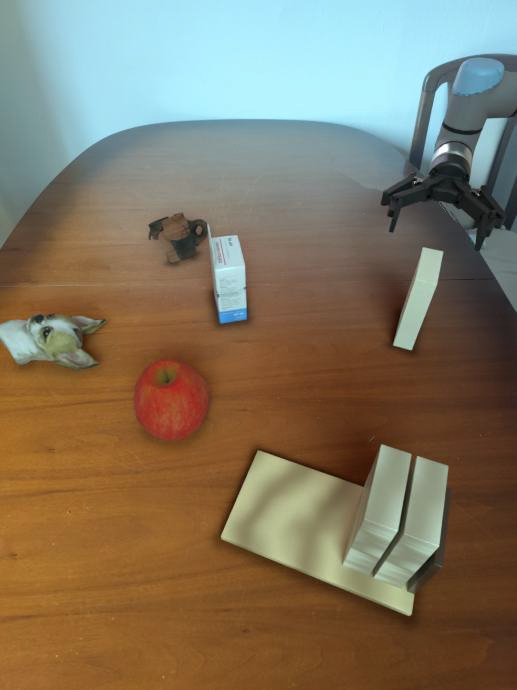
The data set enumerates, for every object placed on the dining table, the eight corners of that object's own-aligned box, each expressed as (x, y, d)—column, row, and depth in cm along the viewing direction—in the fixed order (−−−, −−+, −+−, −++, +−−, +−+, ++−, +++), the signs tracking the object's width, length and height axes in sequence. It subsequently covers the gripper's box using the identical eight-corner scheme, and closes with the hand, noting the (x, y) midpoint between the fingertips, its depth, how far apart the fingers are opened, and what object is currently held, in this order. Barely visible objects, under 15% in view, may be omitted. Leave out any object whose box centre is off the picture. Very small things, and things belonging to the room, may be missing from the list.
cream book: (418, 317, 78) (443, 251, 67) (411, 350, 73) (437, 284, 62) (400, 313, 79) (422, 246, 68) (392, 345, 74) (414, 279, 63)
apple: (215, 389, 68) (209, 342, 60) (207, 451, 61) (199, 407, 53) (147, 387, 68) (132, 340, 60) (132, 448, 61) (113, 405, 53)
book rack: (424, 512, 55) (466, 453, 44) (409, 616, 48) (455, 577, 37) (257, 453, 61) (257, 387, 49) (221, 539, 53) (210, 484, 42)
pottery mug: (156, 269, 87) (139, 228, 84) (164, 259, 96) (149, 221, 93) (215, 250, 86) (199, 207, 83) (217, 242, 95) (204, 203, 92)
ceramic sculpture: (-1, 292, 69) (100, 290, 70) (18, 331, 75) (110, 328, 77) (-23, 345, 62) (90, 341, 63) (1, 383, 68) (102, 378, 70)
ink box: (247, 320, 77) (245, 250, 66) (219, 324, 77) (212, 254, 66) (240, 288, 83) (237, 218, 72) (213, 291, 82) (206, 221, 71)
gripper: (511, 203, 85) (508, 271, 72) (379, 178, 91) (354, 237, 78) (529, 165, 79) (530, 231, 66) (387, 141, 85) (362, 198, 72)
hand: (435, 234), depth 72 cm, fingers open, 13 cm apart
